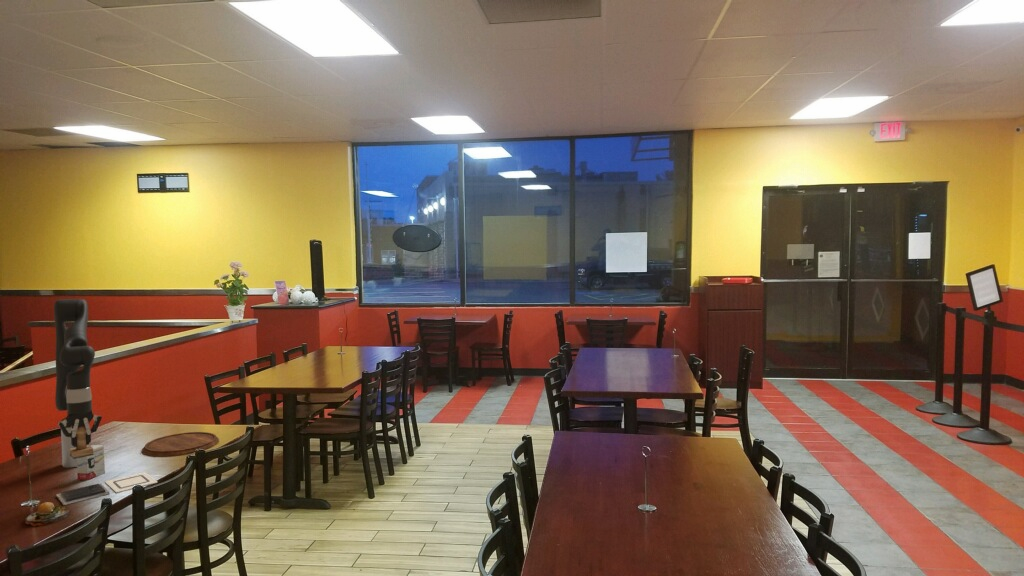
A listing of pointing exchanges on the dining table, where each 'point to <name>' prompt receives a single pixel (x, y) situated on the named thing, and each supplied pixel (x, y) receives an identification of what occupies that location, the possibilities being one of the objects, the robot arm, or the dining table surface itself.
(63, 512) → the burger
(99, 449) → the ink box
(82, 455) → the stamp
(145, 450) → the cutting board
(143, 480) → the paper sheet
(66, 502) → the ink pad
